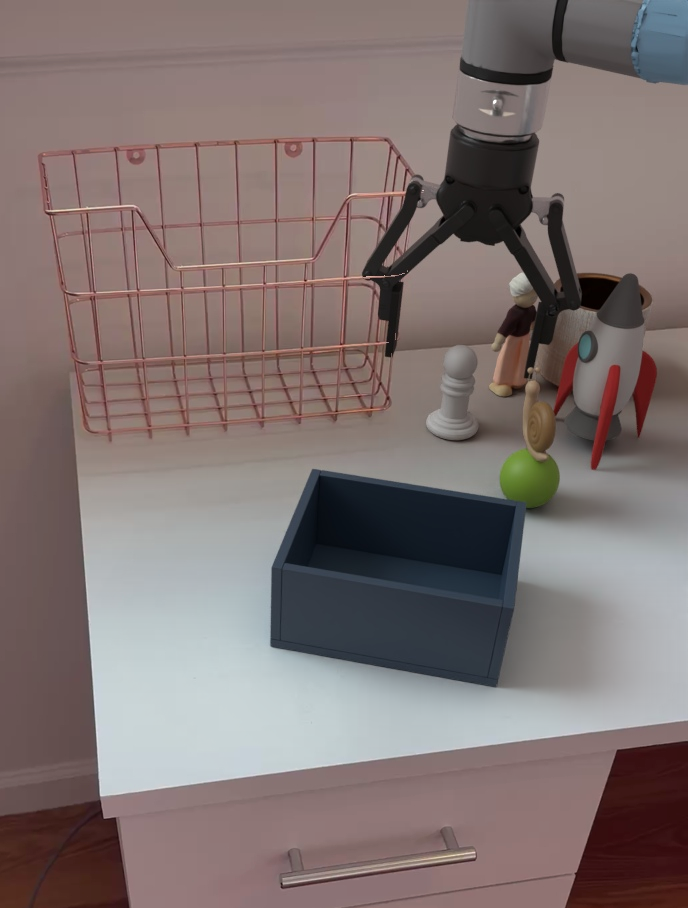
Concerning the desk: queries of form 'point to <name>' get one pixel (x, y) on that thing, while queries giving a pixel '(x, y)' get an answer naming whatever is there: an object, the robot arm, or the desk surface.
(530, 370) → the snail figurine
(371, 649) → the tote
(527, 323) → the grandmother figurine
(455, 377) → the chess piece
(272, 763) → the desk surface
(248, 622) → the desk surface
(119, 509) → the desk surface
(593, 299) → the planter
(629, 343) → the toy
